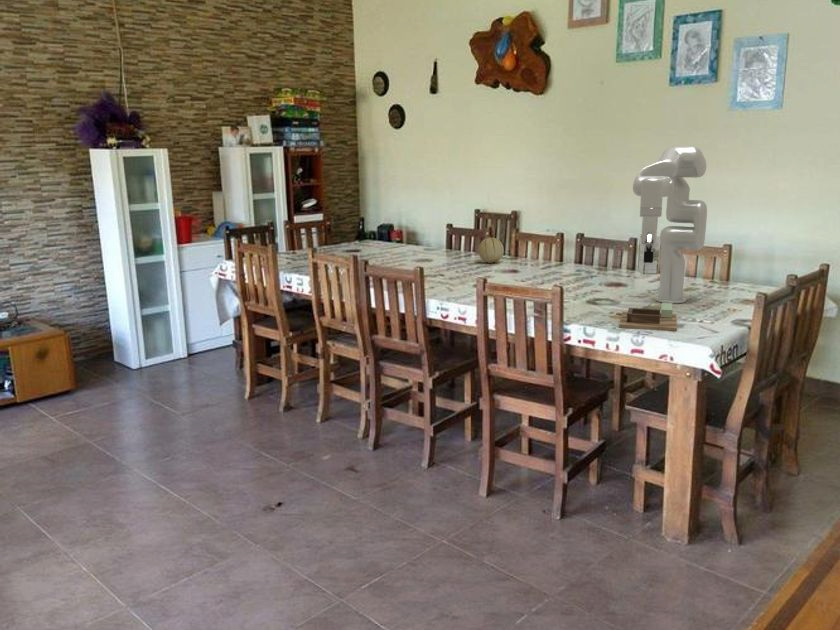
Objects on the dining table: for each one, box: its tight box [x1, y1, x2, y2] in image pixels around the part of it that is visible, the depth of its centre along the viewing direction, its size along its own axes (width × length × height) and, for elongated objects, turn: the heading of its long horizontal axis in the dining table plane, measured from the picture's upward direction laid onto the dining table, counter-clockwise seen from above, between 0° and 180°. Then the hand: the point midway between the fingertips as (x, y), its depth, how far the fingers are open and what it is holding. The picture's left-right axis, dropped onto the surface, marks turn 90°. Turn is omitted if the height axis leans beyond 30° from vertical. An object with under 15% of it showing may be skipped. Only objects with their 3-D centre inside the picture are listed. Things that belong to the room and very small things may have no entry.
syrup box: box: [637, 233, 661, 275], centre depth 268 cm, size 6×6×14 cm
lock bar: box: [660, 302, 674, 318], centre depth 280 cm, size 13×4×3 cm, turn 162°
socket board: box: [618, 307, 678, 332], centre depth 274 cm, size 22×20×4 cm
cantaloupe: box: [477, 236, 505, 264], centre depth 414 cm, size 15×15×15 cm
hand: (648, 260), depth 269 cm, fingers closed on syrup box, 7 cm apart
